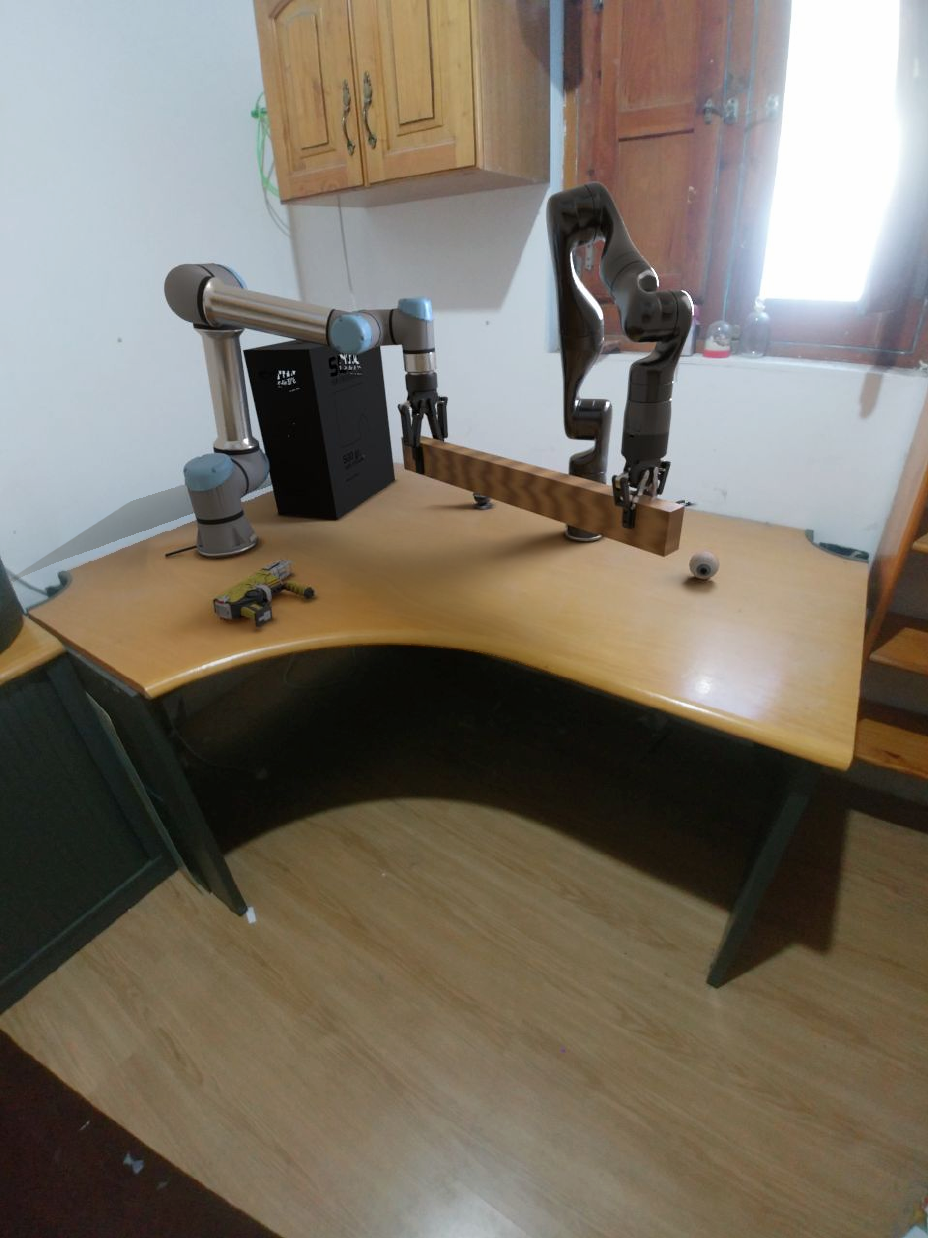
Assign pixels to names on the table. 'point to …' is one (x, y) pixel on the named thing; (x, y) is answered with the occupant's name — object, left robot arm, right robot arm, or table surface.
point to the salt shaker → (481, 501)
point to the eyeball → (704, 564)
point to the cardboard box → (321, 426)
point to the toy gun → (258, 594)
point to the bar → (552, 495)
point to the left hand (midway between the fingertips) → (428, 470)
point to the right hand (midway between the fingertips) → (636, 523)
